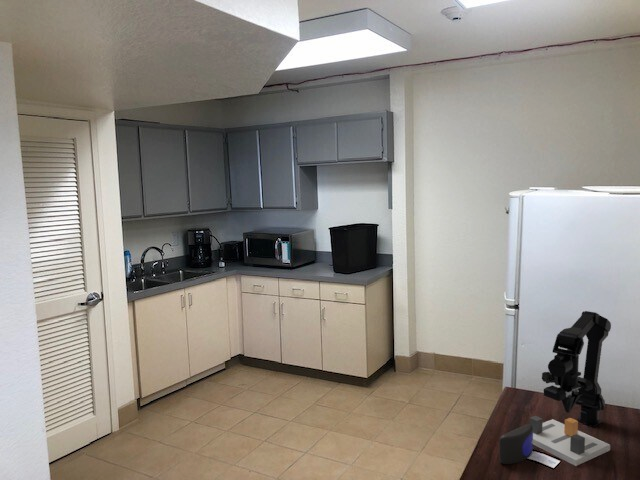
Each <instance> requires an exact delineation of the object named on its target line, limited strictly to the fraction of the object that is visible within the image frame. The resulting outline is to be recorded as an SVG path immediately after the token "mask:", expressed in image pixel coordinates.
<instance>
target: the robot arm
mask: <svg viewBox="0 0 640 480" xmlns="http://www.w3.org/2000/svg"><path fill="white" fill-rule="evenodd" d="M611 328H612V323H611V321H610V320H609V319H608V318H606V317H604V316H602V315H600V314H599V313H598V312H595V311H594V312H593V311H589V310H588V311H587V310H585V311H582V313H581V315H580V316H579V318H578V319H577V320H576V321H575V322H574V324H572V326H570V327H567V328H564V329H562V330H561V331H559V333H557V334H556V338H555V340H554V341H555V342H554V344H553V348H552V353H553V354H554V353H555V355H554V356H553V357H554V358H553V359H551V360H550V361H549V362H548V364H547V368H548V371H543V372H541V380H542V382H544V383H545V384H550V383H551V384H553V383H554V385H550V386H547V387H545V388H543V393H542V394H543V396H544V397H547V398H549V399H552V400H555V401H557V402H560V401H561V403H562V405H563V408H564V411H565V413H568V414H569V413H571V411H572V409H573V408H574V407H575V405H576V406H577V405H578V406H580V412H579V413H580V414H579V416H580V417H578V418H576V420H577V421H578V423H579V422H580V423H582V424H584V425H587V426H589V427H591V428H592V427H596V426H598V425H601V424H603V420H600V419H599V418H600V417H599V416H600V411H604V410H605V406H606V400H605V399H604V396H603V395H602V388H601V386H600V384H599V381H598V379H599V372H600V362H601V356H602V346H603V342H604V341H605V340H606V339H607V337H608V336H609V333H610V331H611ZM585 336H586V338H587V346H586V353H585V354H586V355H585V364H584V369H583V370H584V371H583V377H580V376H582V372H581V371H579V359H580V355H581V353H582V350H583V348H584V344H585V341H584V337H585ZM557 386H559V387H557Z"/></svg>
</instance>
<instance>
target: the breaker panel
mask: <svg viewBox="0 0 640 480" xmlns="http://www.w3.org/2000/svg"><path fill="white" fill-rule="evenodd" d="M529 424H531V425H532V426H533V446H535V447H537V448H540V449H541V450H543V451H545V452H547V453H549V454H551V455H553V456H555V457H557V458H558V459H561V460H563V461H565V462H567V463H569V464H571V465H573V466H575V467H577V466H580V465H581V464H584V463H585V462H588V461H590V460H592V459H595V458H597V457H598V456H601V455H603V454H605V453H607V452H609V451H611V444H609V443H607V442H606V441H603V440H600V439H598V438H596V437H594V436H592V435H589V434H587V433H584V432H583V431H581V430H578V434H575V435H573V436H569V435H567V434H564V428H565V423H563V422H560V421H557V420H556V419H553V418H552V419H550V420H547V421H544V420H543V418H542V417H539V416H537V415H533V416H531V417H529Z"/></svg>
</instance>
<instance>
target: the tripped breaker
mask: <svg viewBox="0 0 640 480" xmlns="http://www.w3.org/2000/svg"><path fill="white" fill-rule="evenodd" d="M564 424H565V428H564V434H567V435H569V436H573V435H575V434H578V431H579V421H577V419H574V418H571V417H568V418H566V419H564Z"/></svg>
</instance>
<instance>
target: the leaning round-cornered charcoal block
mask: <svg viewBox="0 0 640 480" xmlns="http://www.w3.org/2000/svg"><path fill="white" fill-rule="evenodd" d="M498 440H499V441H498V460H499V462H500V463H501V464H503V465H504V464H505V465H513V464H518V463H520V462H525V460H527V459H529V458H530V457H531V455H532V454H533V452H534V451H533V449H534V445H533V426H532V425H531V424H530V423H525V424H524V425H522V426H520V427H517V428H515V429H513V430H511V431H508V432H506V433H504V434H502V435H501V436H500V437H499V439H498Z"/></svg>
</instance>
